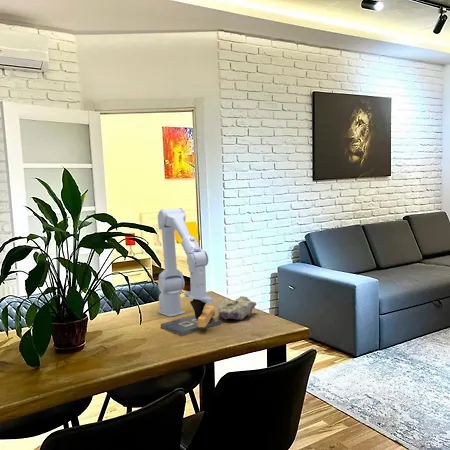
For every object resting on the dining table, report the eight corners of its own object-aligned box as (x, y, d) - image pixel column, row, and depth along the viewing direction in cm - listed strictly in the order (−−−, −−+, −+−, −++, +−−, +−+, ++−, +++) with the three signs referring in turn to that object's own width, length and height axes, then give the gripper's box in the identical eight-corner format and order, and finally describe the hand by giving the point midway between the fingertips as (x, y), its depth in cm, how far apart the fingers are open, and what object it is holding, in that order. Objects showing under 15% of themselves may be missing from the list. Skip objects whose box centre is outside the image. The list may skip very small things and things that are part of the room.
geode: (215, 333, 182) (250, 330, 177) (207, 314, 179) (242, 310, 173) (226, 307, 197) (259, 303, 191) (219, 289, 193) (252, 285, 188)
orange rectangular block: (206, 313, 182) (206, 305, 182) (215, 314, 182) (215, 305, 181) (196, 326, 167) (196, 317, 166) (206, 327, 166) (206, 317, 166)
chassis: (160, 327, 175) (160, 322, 174) (200, 316, 187) (200, 311, 187) (181, 336, 165) (180, 330, 165) (221, 324, 177) (221, 318, 177)
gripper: (177, 282, 175) (179, 316, 176) (201, 288, 164) (202, 325, 165) (192, 279, 179) (193, 312, 181) (216, 285, 169) (217, 321, 170)
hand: (199, 318), depth 173 cm, fingers closed, pressing on orange rectangular block
